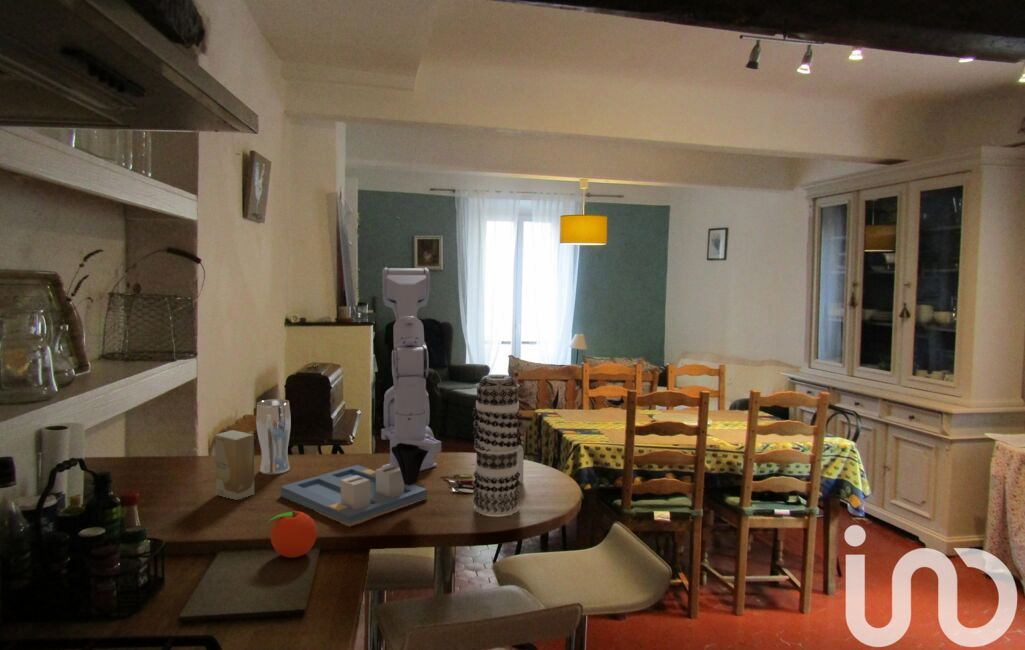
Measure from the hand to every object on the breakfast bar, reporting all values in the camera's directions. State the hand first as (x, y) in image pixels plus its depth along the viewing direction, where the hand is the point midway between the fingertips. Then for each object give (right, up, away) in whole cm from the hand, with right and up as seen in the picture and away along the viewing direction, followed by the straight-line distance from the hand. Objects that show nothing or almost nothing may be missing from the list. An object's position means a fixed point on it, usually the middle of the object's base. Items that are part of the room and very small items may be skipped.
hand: (410, 483), depth 126 cm
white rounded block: (+18, -4, +14) cm, 24 cm away
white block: (-5, -3, +4) cm, 7 cm away
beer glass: (-32, -2, +21) cm, 39 cm away
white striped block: (-10, -4, -2) cm, 11 cm away
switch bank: (-12, -4, +5) cm, 14 cm away
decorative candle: (+16, -5, +1) cm, 17 cm away
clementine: (-16, -7, -19) cm, 26 cm away
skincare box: (-35, -4, +6) cm, 36 cm away
